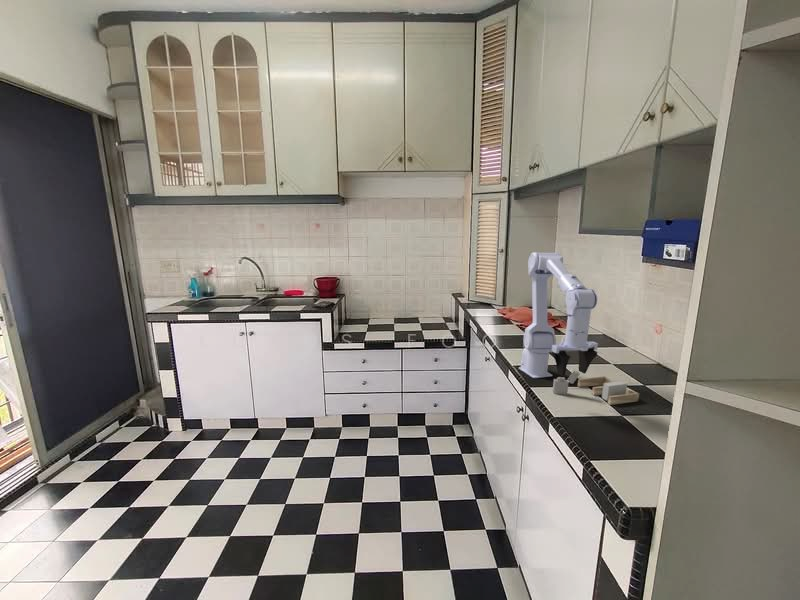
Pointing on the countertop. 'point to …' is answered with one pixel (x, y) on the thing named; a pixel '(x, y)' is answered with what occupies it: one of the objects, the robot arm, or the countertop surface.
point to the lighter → (564, 383)
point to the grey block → (613, 389)
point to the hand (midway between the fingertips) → (571, 373)
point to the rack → (616, 399)
